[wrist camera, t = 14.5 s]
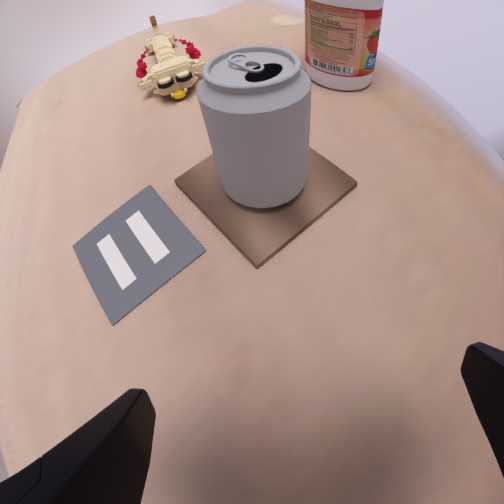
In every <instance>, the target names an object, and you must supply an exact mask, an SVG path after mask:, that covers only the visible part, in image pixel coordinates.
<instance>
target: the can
mask: <svg viewBox="0 0 504 504" xmlns="http://www.w3.org/2000/svg"><path fill="white" fill-rule="evenodd" d="M301 65H302V63H301V60H300V58H299V57H298V56H297V55H296V54H294V53H293V52H292V51H290V50H287V49H285V48H282V47H278V46H272V45H246V46H240V47H236V48H232V49H228V50H226V51H223V52H221V53H218V54H217V55H215V56H214V57H212V58H211V59H209V60H208V61H207V63H206V64H205V65H204V66H203V70H202V75H203V77H204V78H203V79H202V81H201V82H200V83H199V85H198V90H197V96H198V100H199V104H200V107H201V111H202V115H203V118H204V122H205V126H206V129H207V133H208V137H209V140H210V144H211V147H212V151H213V155H214V158H215V162H216V166H217V169H218V173H219V176H220V180H221V183H222V186H223V188H224V190H225V192H226V193H227V194H228V195H229V196H230V197H231V198H232V199H233V200H234V201H236V202H238V203H240V204H243V205H245V206H248V207H255V208H268V207H276V206H279V205H281V204H284V203H287V202H289V201H290V200H291V199H293V198H294V197H295V196H297V195H298V194H299V193H300V191H301V190H302V188H303V187H304V185H305V182H306V177H307V167H308V151H309V132H310V110H311V80H310V77H309V75H308V73H307V72H305V71H304V70H303V69H302V68H301Z"/></svg>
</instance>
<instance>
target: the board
mask: <svg viewBox="0 0 504 504" xmlns="http://www.w3.org/2000/svg"><path fill="white" fill-rule="evenodd" d="M174 181H175V183H176V185H177V186H178V187H179V188H180V189H181V190H182V191H183V192H184V193H185V194H186V195H187V196H188V197H189V198H190V199H191V200H192V201H193V202H194V204H195V205H196V206H197V207H198V208H199V209H200V210H201V211H202V212H203V213H204V214H205V215H206V216H207V217H208V218H209V219H210V220H211V221H212V222H213V223H214V224H215V225H216V227H217V228H218V229H219V230H220V231H221V232H222V233H223V234H224V235H225V236H226V237H227V238H228V239H229V240H230V241H231V242H232V243H233V244H234V245H235V246H236V247H237V248H238V249H239V251H240V252H241V253H242V254H243V255H244V256H245V257H246V258H247V259H248V260H249V261H250V262H251V263H252V264H253V265H254V266H255V267H256V268H257V269H258V268H259V267H260V266H261V265H263V264H264V263H265V262H266V261H268V260H269V259H270V258H271V257H272V256H274V255H275V254H276V253H277V252H278V251H280V250H281V249H282V248H283V247H284V246H286V245H287V244H288V243H289V242H290V241H292V240H293V239H294V238H295V237H297V236H298V235H299V234H300V233H301V232H303V231H304V230H305V229H306V228H307V227H308V226H310V225H311V224H312V223H313V222H314V221H316V220H317V219H318V218H319V217H320V216H322V215H323V214H324V213H325V212H326V211H328V210H329V209H330V208H331V207H332V206H334V205H335V204H336V203H337V202H338V201H339V200H341V199H342V198H343V197H344V196H345V195H347V194H348V193H349V192H350V191H351V190H352V189H354V188H355V187H356V186H357V181H356V180H354V179H353V178H352V177H350V176H349V175H348V174H346V173H345V172H344V171H342V170H341V169H340V168H338V167H337V166H335V165H334V164H333V163H331V162H330V161H329V160H327V159H326V158H324V157H323V156H322V155H320V154H319V153H317V152H316V151H314V150H313V149H311V148H310V147H309V151H308V167H307V177H306V182H305V185H304V187H303V188H302V190H301V191H300V193H299V194H298V195H297V196H295V197H294V198H293V199H291V200H290V201H289V202H287V203H284V204H281V205H279V206H276V207H268V208H255V207H248V206H245V205H243V204H240V203H238V202H236V201H234V200H233V199H232V198H231V197H230V196H229V195H228V194H227V193H226V192H225V190H224V188H223V186H222V183H221V180H220V176H219V173H218V169H217V166H216V162H215V158H214V155H213V154H212V155H211V156H209V157H208V158H206V159H205V160H203V161H202V162H200V163H199V164H197V165H196V166H194V167H193V168H191V169H190V170H188V171H187V172H185V173H184V174H182V175H181V176H179V177H178V178H177V179H175V180H174Z"/></svg>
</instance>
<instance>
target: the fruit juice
mask: <svg viewBox="0 0 504 504" xmlns="http://www.w3.org/2000/svg"><path fill="white" fill-rule="evenodd" d="M382 9H383V0H305V68H306V72H307V73H308V75H309V77H310V79H312V80H313V81H314V82H316V83H318V84H320V85H322V86H325V87H328V88H331V89H336V90H343V91H354V90H360V89H363V88H365V87H367V86H368V85H369V84H370V82H371V80H372V77H373V72H374V67H375V60H376V54H377V47H378V40H379V33H380V25H381V17H382Z"/></svg>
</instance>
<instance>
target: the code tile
mask: <svg viewBox="0 0 504 504" xmlns="http://www.w3.org/2000/svg"><path fill="white" fill-rule="evenodd" d="M73 248H74V250H75V253H76V255H77V257H78V259H79V262H80V264H81V266H82V268H83V270H84V272H85V274H86V276H87V279H88V281H89V283H90V285H91V287H92V289H93V291H94V293H95V295H96V296H97V298H98V300H99V302H100V304H101V306H102V308H103V310H104V312H105V313H106V315H107V317H108V319H109V321H110V322H111V324H112V326H113V325H114V324H116V323H117V322H118V321H119V320H121V319H122V318H123V317H124V316H125V315H127V314H128V313H129V312H130V311H132V310H133V309H134V308H135V307H136V306H138V305H139V304H140V303H141V302H143V301H144V300H145V299H146V298H148V297H149V296H150V295H151V294H153V293H154V292H155V291H156V290H157V289H159V288H160V287H161V286H162V285H164V284H165V283H166V282H167V281H169V280H170V279H171V278H172V277H174V276H175V275H176V274H178V273H179V272H180V271H181V270H183V269H184V268H185V267H186V266H188V265H189V264H190V263H191V262H193V261H194V260H195V259H197V258H198V257H199V256H200V255H202V254H203V253H204V252H206V250H205V248H204V247H203V246H202V245H201V244H200V243H199V242H198V240H197V239H196V238H195V237H194V236H193V235H192V234H191V232H190V231H189V230H188V229H187V228H186V227H185V225H184V224H183V223H182V222H181V221H180V220H179V218H178V217H177V216H176V215H175V214H174V213H173V211H172V210H171V209H170V208H169V207H168V206H167V204H166V203H165V202H164V201H163V200H162V199H161V197H160V196H159V195H158V194H157V193H156V191H155V190H154V189H153V188H152V187H151V186H150V185H149V186H147V187H146V188H144V189H143V190H142V191H140V192H139V193H138V194H136V195H135V196H134V197H132V198H131V199H130V200H128V201H127V202H126V203H124V204H123V205H122V206H121V207H119V208H118V209H117V210H115V211H114V212H113V213H112V214H110V215H109V216H108V217H107V218H105V219H104V220H103V221H102V222H100V223H99V224H98V225H97V226H96V227H94V228H93V229H92V230H91V231H90V232H88V233H87V234H86V235H85V236H84V237H82V238H81V239H80V240H79V241H78V242H77V243H75V244H74V245H73Z"/></svg>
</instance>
